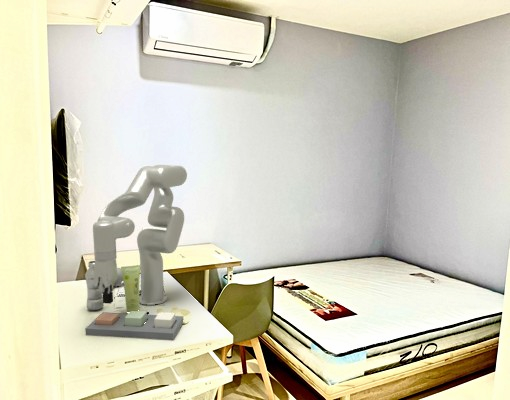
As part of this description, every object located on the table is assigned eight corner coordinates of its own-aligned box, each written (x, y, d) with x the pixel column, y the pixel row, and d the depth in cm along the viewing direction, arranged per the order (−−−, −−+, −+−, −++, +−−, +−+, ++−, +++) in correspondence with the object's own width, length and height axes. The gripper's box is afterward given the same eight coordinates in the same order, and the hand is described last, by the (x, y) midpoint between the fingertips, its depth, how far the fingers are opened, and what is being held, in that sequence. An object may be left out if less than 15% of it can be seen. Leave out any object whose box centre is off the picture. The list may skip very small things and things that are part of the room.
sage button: (131, 319, 155) (131, 310, 155) (146, 320, 155) (146, 311, 154) (125, 326, 150) (124, 317, 149) (141, 327, 149) (140, 318, 149)
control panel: (103, 318, 161) (102, 312, 160) (183, 322, 158) (183, 316, 158) (85, 335, 147) (85, 328, 147) (173, 340, 144) (173, 333, 144)
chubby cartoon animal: (132, 290, 197) (138, 273, 198) (108, 286, 190) (115, 268, 190) (127, 286, 203) (133, 269, 203) (104, 281, 196) (110, 264, 196)
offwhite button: (159, 321, 155) (159, 312, 154) (175, 321, 154) (175, 313, 154) (154, 328, 149) (154, 319, 148) (170, 329, 148) (170, 320, 148)
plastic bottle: (98, 313, 165) (96, 265, 162) (83, 311, 167) (80, 263, 164) (107, 306, 172) (105, 260, 169) (92, 305, 173) (90, 259, 170)
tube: (131, 316, 163) (130, 268, 160) (122, 313, 166) (120, 266, 163) (142, 311, 168) (140, 264, 165) (133, 308, 170) (131, 262, 168)
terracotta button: (103, 321, 157) (103, 312, 156) (118, 322, 156) (118, 313, 156) (96, 328, 151) (95, 319, 150) (111, 329, 150) (111, 320, 150)
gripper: (104, 248, 157) (107, 294, 160) (85, 260, 143) (88, 310, 146) (123, 249, 157) (125, 295, 160) (106, 261, 142) (109, 311, 145)
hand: (108, 302), depth 153 cm, fingers closed
